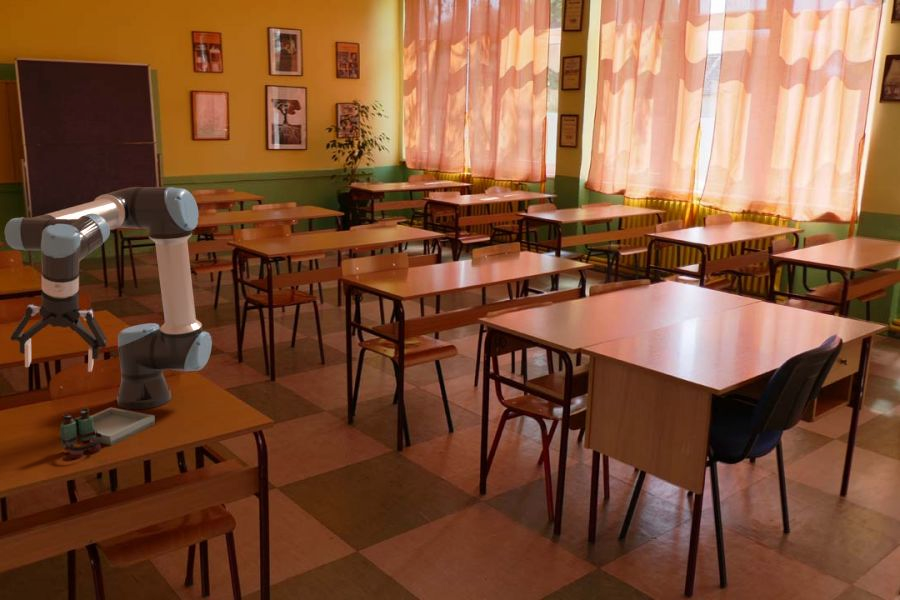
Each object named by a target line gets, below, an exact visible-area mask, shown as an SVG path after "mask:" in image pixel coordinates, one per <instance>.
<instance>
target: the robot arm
mask: <svg viewBox="0 0 900 600" xmlns="http://www.w3.org/2000/svg"><path fill="white" fill-rule="evenodd" d="M198 207H199V206H198V204H197V202H196V199H195V197H194V196H193V194H192V193H191V192H190V191H189V190H187V189H185V188H181V187H180V188H179V187H173V186H154V187H153V186H150V187H149V186H148V187H147V186H146V187H143V186H134V187H133V186H132V187H127V188H123V189H122V188H121V189H118V190H115V191H112V192H109V193H108V192H107V193H104V194H101V195H99V196H97V197H96V198H95V199H94V200H93V201H90V202H89V201H88V202H86V203H83V204H79V205H75V206H72V207H68V208H63V209H60V210H56V211H53V212H49V213H45V214H43V215H38V216H34V217H24V216H22V217H15V218H11V219H10V220H9V221H7V222H6V225H5V228H4V236H5V238H4V239H5V241H6V243H7V245H8V246H9V247H11V249H14V250H19V251H20V250H21V251H25V252H28V251H41V252H40V253H41V290H42V291H41V306H37V305H35V303H34V302H30V303H28V305H27V307H26V308H25V314H24V316H23V317H22V318H21V320H20V321H19V323H18V324H17V326H16V327H15V329H14V330H13V332H12V334H11V335H10V340H11V341H17V342H19V352H20V354H24V367H25V368H29V367H30V365H31V363H32V337H34V336H35V335H36V334H37V333H39V332H40V331H41V330H43V329H45V328H46V327H47V326H49V325H50V326H51V327H54V328H55V327H61V328H65V329H66V328H67V327H69V328H70V329H71V330H72V331H73V332H75V333H76V334H78V336H80V337H81V339H82V340H83V341H85V343H86V344H87V345H88V354H87V355H88V357H87V358H88V360H87V362H88V363H87V372H88V373H92V371H93V368H94V367H93V366H94V362H95V361H94V360H97V359H98V357H99V354H100V353H99V351H100V348H103V349H104V348H106V346H107V343H108V338H107V335H106V334H105V333H104V331H103V330H102V328H101V326H100V324H99V322H98V321H97V319H96V317H95V313H94V309H93V308H88V309H87V310H81V309H80V308H79V295H80V292H79V290H80V262H81V260H83V259H84V258H85V257H87V256H88V255H89V254H91V253H92V252H94V251H95V250H96V249H98V248H100V247H102V246H103V243H105V242H106V241H107V240H108V238H109V237H110V233H111V230H116V229H119V228H123V229H139V230H140V229H141V230H147V232H148V238H149V239H150V240H151V241H152V242H153V243H155V252H156V253H155V254H156V261H157V267H158V269H157V270H158V276H159V283H160V284H159V285H160V293H161V301H162V310H163V317H164V319H163V320H164V323H163V324H162V325H161V326H160V325H159V324H158V323H154V322H153V323H152V322H151V323H143V324H142V323H141V324H137V325H133V326H129V327H126V328H124V329H122V330H121V331H119V333H118V334H117V343H118V344H117V348H118V355H119V356H118V357H119V365H120V367H119V368H120V375H121V376H120V377H121V379H120V383H119V388H118V393H117V395H116V400H117V402H116V403H117V406H118V407H120V408H122V409H125V410H126V409H127V410H143V409H144V410H145V409H151V408H155V407H159V406H162V405H164V404H167V403H168V402H169V401H170V400H171V399H172V395H171V394H172V393H171V389H170V387H169V385H168V383H167V381H166V377H165V375H164V373H163V372H164V371H163V370H165V371H166V370H167V371H180V372H192V371H194V372H197V371H201V370H202V369H203V368H204V367H205V366H206V365H207V363H208V361H209V359H210V355H211V352H212V345H213V340H212V336H211V335H210V333H209V332H207V331H203V324H202V322H200V321H199V320H198V319H197V318H196V309H195V302H194V301H195V299H194V298H195V297H194V292H193V291H194V290H193V281H192V272H191V262H190V261H191V260H190V254H189V253H190V252H189V245H188V240H189V238H191V236H193V230H195V228H197V225H198V224H199V221H198V219H199V216H200V215H199V208H198ZM38 313H39V314H40V316H41V318H40V319H39V320H38V321H37V322H35V323H34V324H32V326H31V327H29V328H28V329H26V331H24V332H23V330H24V329H25V327H26V326H27V324H28V323H29V321H30V320H31V318H32V317H34V316H36V315H37V314H38ZM80 317H82V319H83V320H84V321H86V323H87V326H88V327H89V329H90V330H89V329H88V328H87V327H86V326H85V325H84V324H83V323H82V321H81V319H80Z"/></svg>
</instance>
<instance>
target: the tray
mask: <svg viewBox="0 0 900 600" xmlns="http://www.w3.org/2000/svg"><path fill="white" fill-rule="evenodd" d="M90 416H91V417H92V418H93V424H94V430H97V432H98V433H101V435H102V442H101V443H100V444H103V445H107V446H113V445H115V444H117V443H119V442H122V441H123V440H125V439H127V438H130V437H132V436H134V435H135V434H137V433H139V432H142V431H143V430H145V429H146V430H147V428H150V427H152V426H154V425H156V418H155V416H156V415H153V414H148V413H144V412H138V411H133V410H129V409H127V410H126V409H123V408H122V409H121V408H117V407H112V406H111V407H108V408H105V409H104V410H101V411H98V412H96V413H94V414H91V415H90ZM95 433H96V431H95ZM95 436H96V435H95ZM100 439H101V438H100V437H97V438H96V437H95V438H93V439H90V440H91V441H92V442H97V441H99V440H100Z"/></svg>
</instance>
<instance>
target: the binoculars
mask: <svg viewBox="0 0 900 600" xmlns="http://www.w3.org/2000/svg"><path fill="white" fill-rule="evenodd" d="M89 413H90V409H89V408H87V407H86V408H83V409H81V410H80V412H79V414H80V416H79V417H75V418H73V416H72V415H71V414H62V420H63V422H61V423H60V438H59V440H60V445H61V446H62V447H63V450H62V451H63V453H64V454H67V453H68V457H69V458H70V459H81V458H83V456H84V451H86V452H87V453H89V454H96V453H98V452H100V451H101V444H102V443H101V442H102V435H101V433H98V432H97V430H94V424H93V418H92V417H91V416H92V415H89ZM95 431H96V433H95ZM95 435H96V436H95ZM95 437H96V438H97V437H100V438H101V439H100V440H99V441H97V442H93V441H91V440H90V439H93V438H95ZM78 440H79V441H78ZM78 442H80V446H74V445H76V444H78Z"/></svg>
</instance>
